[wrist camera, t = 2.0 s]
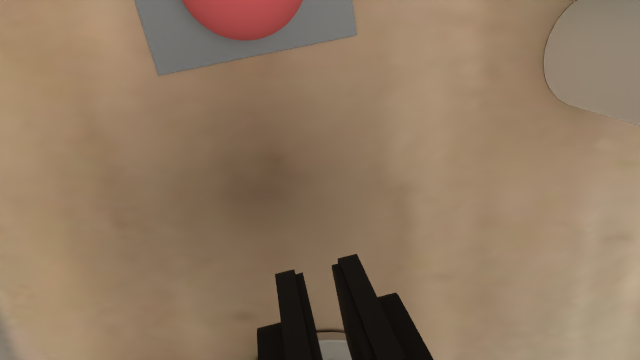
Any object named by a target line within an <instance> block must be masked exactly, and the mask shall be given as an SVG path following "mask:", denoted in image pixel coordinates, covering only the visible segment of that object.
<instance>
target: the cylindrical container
mask: <svg viewBox="0 0 640 360" xmlns="http://www.w3.org/2000/svg"><path fill="white" fill-rule="evenodd" d="M543 61H544V74H545V78H546V82H547V84H548V86H549V88H550V90H551V91H552V93H553V94H554V95H555V97H557V98H558V99H559V100H560V101H562V102H564V103H566V104H568V105H570V106H574V107H577V108H580V109H584V110H587V111H591V112H594V113H598V114H601V115H605V116H608V117H611V118H615V119H618V120H622V121H625V122H629V123H632V124H635V125H639V126H640V0H576V1H575V2H574V3H572V4H571V5H570V6H569V7H568V8H567V9H566V10H565V11H564V12H563V13H562V15H561V16H560V18H559V19H558V20H557V22H556V23H555V25H554V27H553V29H552V31H551V33H550V35H549V38H548V41H547V44H546V47H545V53H544V59H543Z"/></svg>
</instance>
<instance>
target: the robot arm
mask: <svg viewBox="0 0 640 360" xmlns="http://www.w3.org/2000/svg"><path fill="white" fill-rule="evenodd" d="M332 271H333V276H334V281H335V286H336V291H337V296H338V301H339V306H340V311H341V316H342V321H343V326H344V331H345V333H339V332H321V333H317V332H316V328H315V324H314V319H313V315H312V311H311V306H310V302H309V298H308V294H307V289H306V285H305V281H304V276H303V273H299V274H295V271H294V270H290V271H286V272H282V273H278V274H275V277H276V285H277V293H278V301H279V309H280V317H281V322H280V323H276V324H273V325H269V326H265V327H261V328H258V329H257V344H258V360H433V358H432V356H431V354H430V352H429V351H428V349H427V347H426V345H425V343H424V341H423V340H422V338H421V336H420V334H419V332H418V330H417V329H416V327H415V325H414V323H413V321H412V319H411V318H410V316H409V314H408V312H407V310H406V308H405V307H404V305H403V303H402V301H401V299H400V298H399V296H398V294H397V293H392V294H388V295H385V296H381V297H377V296H376V294H375V292H374V290H373V287H372V285H371V283H370V281H369V279H368V277H367V275H366V273H365V270H364V268H363V266H362V264H361V262H360V260H359V258H358V256H357V254H354V255H350V256H346V257H342V258H338V264H335V265H332Z"/></svg>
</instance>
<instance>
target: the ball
mask: <svg viewBox="0 0 640 360" xmlns="http://www.w3.org/2000/svg"><path fill="white" fill-rule="evenodd" d="M302 1H303V0H182V2H183V3H184V5H185V7H186V8H187V10H188V11H189V12H190V13H191V14H192V16H193V17H194V18H195V19H196V20H197V21H198V22H199V23H200V24H202V25H203V26H204V27H206V28H207V29H209V30H210V31H212V32H214V33H216V34H218V35H220V36H223V37H226V38H229V39H234V40H245V41H249V40H257V39H261V38H264V37H267V36H269V35H272V34H274V33H275V32H277V31H279V30H280V29H281V28H283V27H284V26H285V25H286V24H287V23H288V22H289V21H290V20H291V19H292V18H293V17H294V15H295V14H296V12H297V11H298V9H299V7H300V5H301V4H302Z"/></svg>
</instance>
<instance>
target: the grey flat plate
mask: <svg viewBox="0 0 640 360" xmlns="http://www.w3.org/2000/svg"><path fill="white" fill-rule="evenodd" d="M134 1H135V4H136V7H137V10H138V13H139V17H140V20H141V23H142V26H143V29H144V32H145V35H146V38H147V42H148V45H149V48H150V51H151V54H152V57H153V60H154V63H155V66H156V70H157V73H158V76H159V75H164V74H169V73H174V72H179V71H183V70H188V69H193V68H198V67H203V66H208V65H213V64H218V63H223V62H228V61H232V60H237V59H242V58H247V57H252V56H257V55H262V54H267V53H272V52H277V51H282V50H286V49H291V48H296V47H301V46H306V45H311V44H316V43H321V42H326V41H331V40H335V39H340V38H345V37H350V36H355V35H357V32H356V25H355V18H354V10H353V3H352V0H303V1H302V4H301V5H300V7H299V9H298V11H297V12H296V14H295V15H294V17H293V18H292V19H291V20H290V21H289V22H288V23H287V24H286V25H285V26H284V27H283V28H281V29H280V30H279V31H277V32H275V33H274V34H272V35H269V36H267V37H264V38H261V39H257V40H249V41H245V40H234V39H229V38H226V37H223V36H220V35H218V34H216V33H214V32H212V31H210V30H209V29H207V28H206V27H204V26H203V25H202V24H200V23H199V22H198V21H197V20H196V19H195V18H194V17H193V16H192V14H191V13H190V12H189V11H188V10H187V8H186V7H185V5H184V3H183V2H182V0H134Z"/></svg>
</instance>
